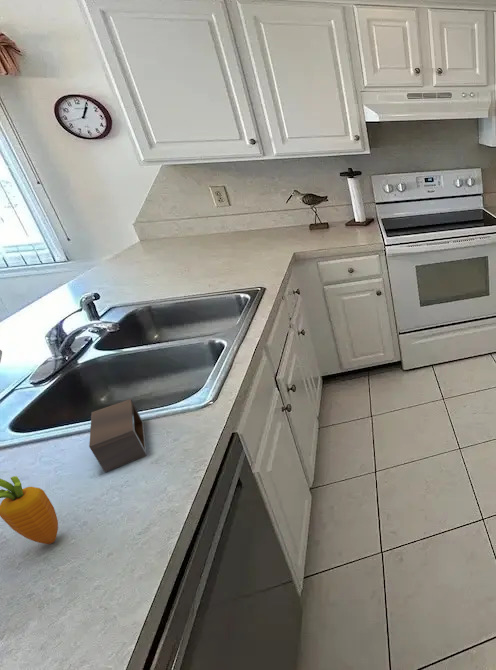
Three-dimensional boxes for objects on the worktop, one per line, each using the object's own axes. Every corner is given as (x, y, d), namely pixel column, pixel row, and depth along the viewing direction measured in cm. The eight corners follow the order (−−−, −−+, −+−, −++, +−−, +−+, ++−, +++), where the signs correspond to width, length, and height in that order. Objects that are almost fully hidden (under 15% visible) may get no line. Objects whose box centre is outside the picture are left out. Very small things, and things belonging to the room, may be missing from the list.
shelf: (146, 455, 86) (133, 430, 83) (105, 472, 82) (89, 446, 79) (143, 422, 94) (131, 398, 91) (105, 436, 91) (91, 412, 88)
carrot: (76, 538, 69) (31, 475, 63) (35, 563, 66) (-18, 499, 59) (68, 523, 72) (23, 461, 65) (28, 546, 68) (-24, 483, 62)
